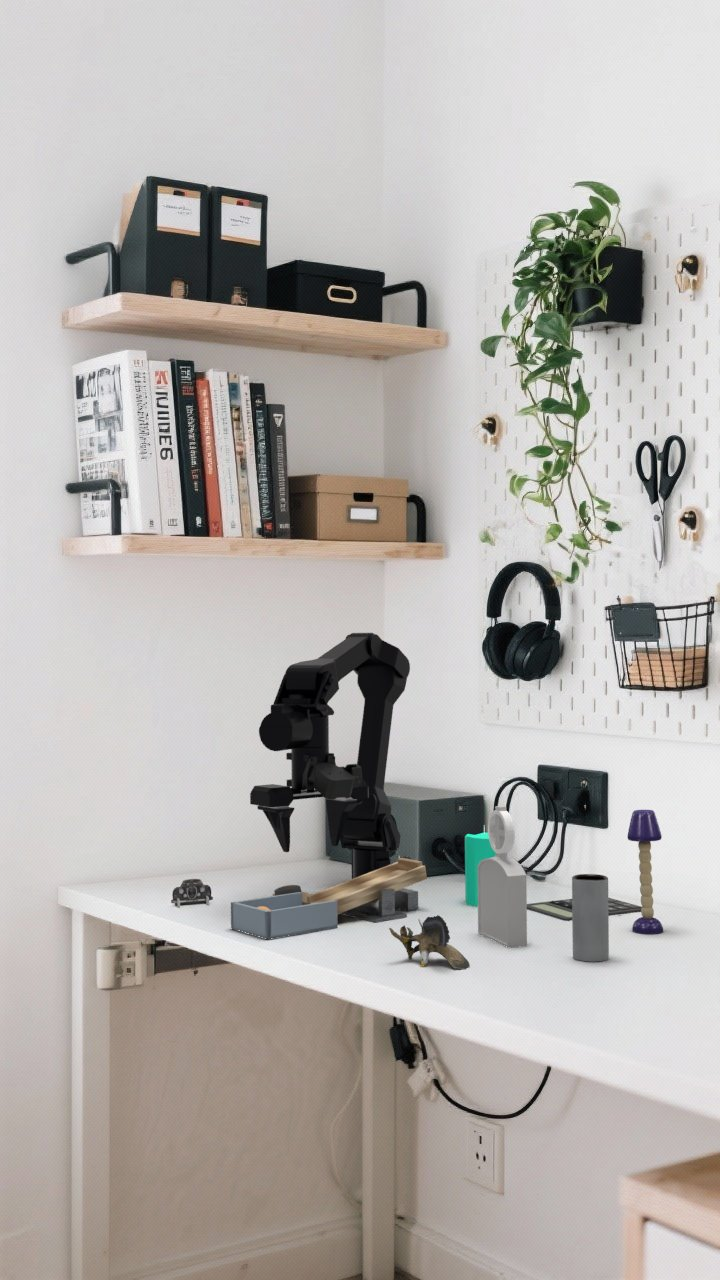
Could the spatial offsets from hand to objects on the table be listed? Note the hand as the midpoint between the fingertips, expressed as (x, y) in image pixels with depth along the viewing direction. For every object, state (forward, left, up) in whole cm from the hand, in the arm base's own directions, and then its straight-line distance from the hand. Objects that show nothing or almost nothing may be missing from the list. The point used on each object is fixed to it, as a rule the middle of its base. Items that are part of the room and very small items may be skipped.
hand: (310, 848), depth 210 cm
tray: (+10, -12, -9) cm, 18 cm away
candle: (+15, +22, -9) cm, 28 cm away
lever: (+6, +3, -6) cm, 9 cm away
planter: (+50, +7, -9) cm, 51 cm away
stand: (+10, +6, -9) cm, 14 cm away
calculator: (+28, +30, -10) cm, 42 cm away
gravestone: (+35, +6, -9) cm, 37 cm away
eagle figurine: (+39, -10, -9) cm, 42 cm away
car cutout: (-12, -9, -10) cm, 18 cm away
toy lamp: (+44, +25, -9) cm, 51 cm away
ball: (+10, -16, -7) cm, 20 cm away
